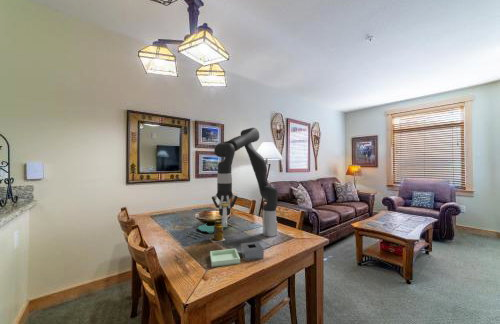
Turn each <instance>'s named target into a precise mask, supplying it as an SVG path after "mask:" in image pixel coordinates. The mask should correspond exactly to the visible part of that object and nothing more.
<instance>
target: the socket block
mask: <svg viewBox="0 0 500 324" xmlns="http://www.w3.org/2000/svg"><path fill="white" fill-rule="evenodd" d="M264 251H265V250H264V247H263V246H262V245H261V244H260V242H259V241H252V242H243V243H240V253H241V256H242V257H243V260H244V261H245V262H247V261H253V260H254V261H255V260H261V259H264V254H265V253H264Z"/></svg>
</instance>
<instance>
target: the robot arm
mask: <svg viewBox="0 0 500 324" xmlns="http://www.w3.org/2000/svg"><path fill="white" fill-rule="evenodd" d="M259 139H260V132H259V129H257V128H256V127H250V128H246V129H244V130H241V131H240V135H238V136H235V137H232V138H231V139H229V140H226V141H223V142H220V143H218V144H216V145H215V147H214V151H213V152H214V154H215V156H216V157H219V158H224V160H222V161H219V162H218V164H217V177H216V179H217V180H216V181H217V184H216V185H217V186H216V188H217V191H216V194H215V195H214V196H213V195H212V196H211V199H212V202H213V205H214V206H215V208H216V209H218V215H219V216H220V217H222V206H221V204H223V202H227V203H228V204H229V205H228V216H230V214H231V208H233V207H235V204H236V202H237V200H238V195H235V194H234V193H233V192H232V191H233V177H232V176H233V175H232V166H233V165H232V164H233V161H234V157H235V154H236V152H237V151H239V150H240V149H242V148H243V147H244V148H245V151H246V154H247V156H248V159H249V161H250V164H251V167H252V170H253V172H254V176H255V178H256V181H257V184H258V185H257V186H258V189H259V193H260V196H261V197H262V199H264V200H266V204H264V205H262V235H263V236H265V237H275V236H278V220H277V208H278V207H277V206H278V203H279V202H278V197H279V194H278V193H279V192H278V189H277V187H274V186H271V185H269V184H268V181H267V172H268V167H267V164H266V160H265V158H264V157H263V156H262V155H261V153H259V152H258V151H257V150H256V149H255V148H254V146H253V144H252V143H255V142H257V141H259ZM217 199H218V200H219V202H218V203H217V201H216V200H217ZM231 199H232V201H231V202H230V200H231Z"/></svg>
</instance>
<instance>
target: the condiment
mask: <svg viewBox="0 0 500 324" xmlns="http://www.w3.org/2000/svg"><path fill="white" fill-rule="evenodd" d="M214 222H215V225H214V232H213V237H211V238H209V240H210V242H212V243H213V244H214V243H217V242H222V241H226V239H225V238H224V229H223V227H222V219H217V220H214Z"/></svg>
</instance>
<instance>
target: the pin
mask: <svg viewBox="0 0 500 324" xmlns="http://www.w3.org/2000/svg"><path fill="white" fill-rule="evenodd" d="M228 205H229V204H228V203H227V202H223V204H221V206H222V216H221V220H222V227H225V228H227V227H229V226H228V224H229V223H228V216H229V215H228Z"/></svg>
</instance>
